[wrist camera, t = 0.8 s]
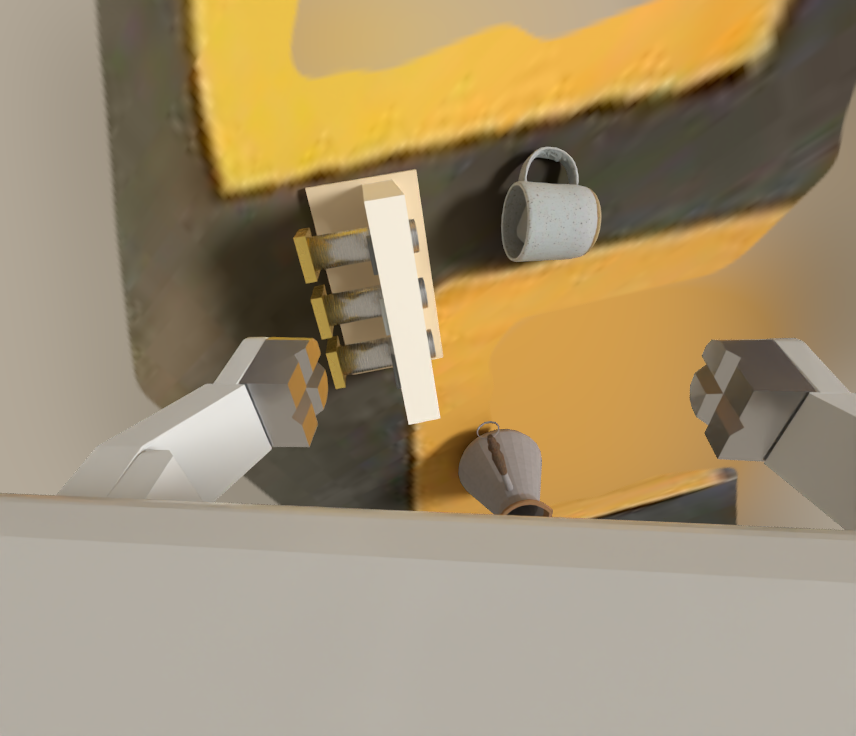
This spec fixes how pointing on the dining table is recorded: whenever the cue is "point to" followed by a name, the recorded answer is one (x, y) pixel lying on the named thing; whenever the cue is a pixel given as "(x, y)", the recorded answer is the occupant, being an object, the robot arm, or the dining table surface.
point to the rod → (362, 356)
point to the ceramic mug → (549, 215)
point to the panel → (387, 276)
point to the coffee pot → (504, 473)
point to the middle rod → (350, 306)
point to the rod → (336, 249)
